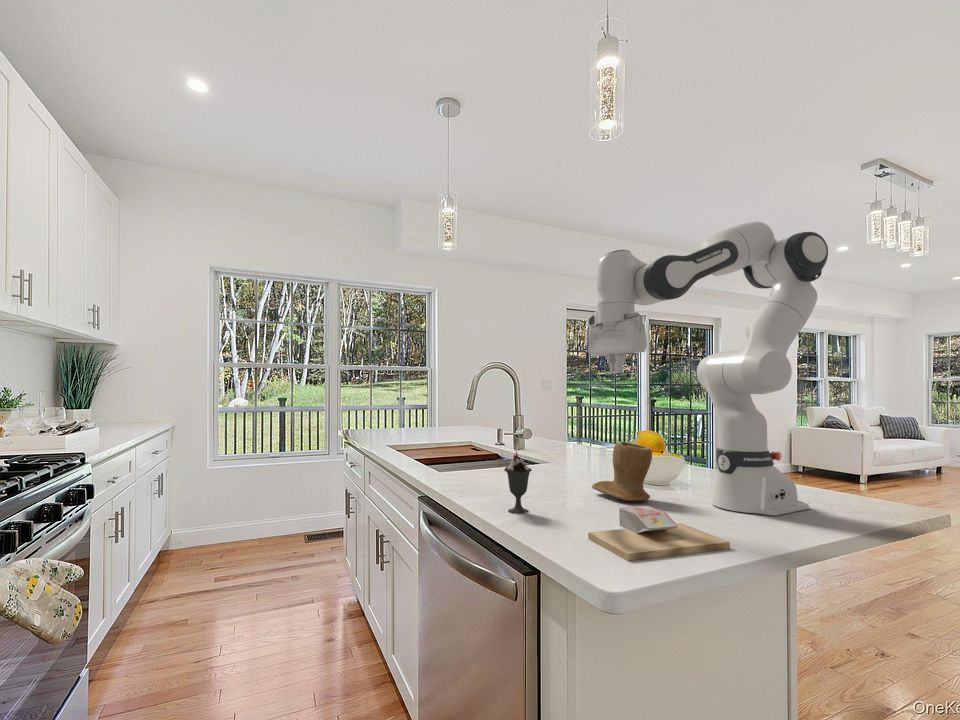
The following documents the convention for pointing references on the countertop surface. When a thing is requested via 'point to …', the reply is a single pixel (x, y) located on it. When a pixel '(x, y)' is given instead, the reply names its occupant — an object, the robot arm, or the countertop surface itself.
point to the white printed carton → (645, 519)
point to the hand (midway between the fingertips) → (616, 373)
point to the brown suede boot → (627, 472)
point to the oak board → (657, 542)
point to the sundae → (518, 481)
